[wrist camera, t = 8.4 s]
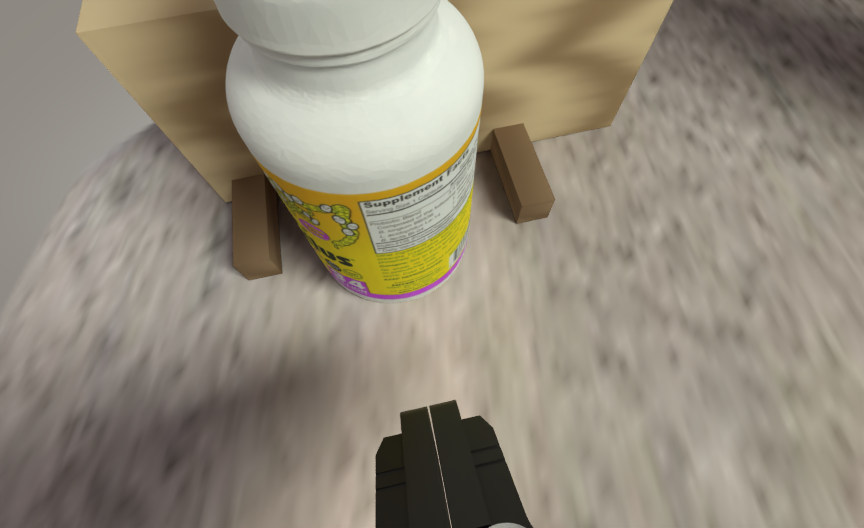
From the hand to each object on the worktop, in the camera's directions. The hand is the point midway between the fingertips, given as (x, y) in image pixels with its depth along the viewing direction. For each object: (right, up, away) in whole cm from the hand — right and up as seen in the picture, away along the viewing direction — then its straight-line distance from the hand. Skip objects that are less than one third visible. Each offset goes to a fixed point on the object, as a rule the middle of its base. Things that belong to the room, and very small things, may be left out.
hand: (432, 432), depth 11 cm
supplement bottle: (-2, +5, +8) cm, 10 cm away
